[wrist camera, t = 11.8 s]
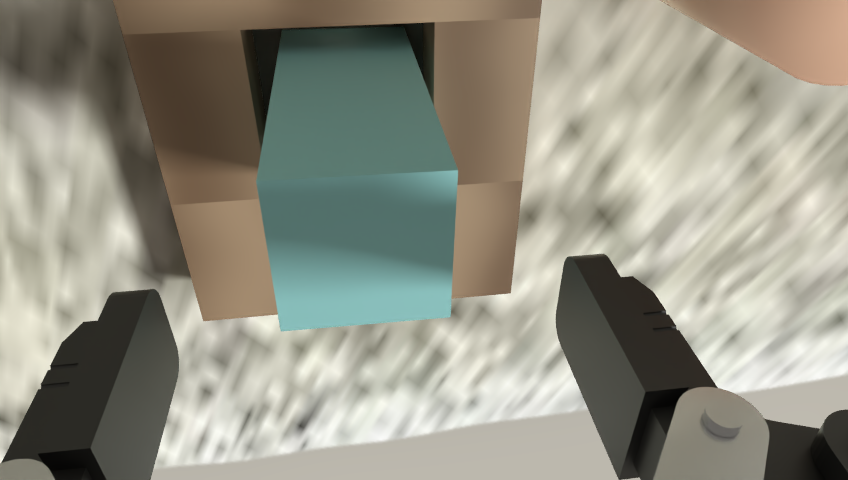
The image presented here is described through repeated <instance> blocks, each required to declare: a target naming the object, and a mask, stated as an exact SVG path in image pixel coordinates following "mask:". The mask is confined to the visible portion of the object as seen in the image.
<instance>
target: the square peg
mask: <svg viewBox="0 0 848 480" xmlns="http://www.w3.org/2000/svg"><path fill="white" fill-rule="evenodd" d="M457 183H458V168H457V166H456V163H455V161H454V158H453V155H452V153H451V150H450V147H449V145H448V142H447V139H446V137H445V134H444V132H443V129H442V126H441V124H440V121H439V118H438V116H437V113H436V110H435V108H434V105H433V103H432V100H431V97H430V95H429V92H428V89H427V87H426V84H425V81H424V79H423V76H422V74H421V71H420V68H419V66H418V63H417V60H416V58H415V55H414V52H413V50H412V47H411V45H410V42H409V39H408V37H407V34H406V31H405V29H404V27H373V28H333V29H294V30H282V33H281V39H280V45H279V51H278V56H277V62H276V68H275V74H274V80H273V86H272V91H271V97H270V103H269V109H268V115H267V120H266V126H265V132H264V138H263V144H262V150H261V155H260V161H259V167H258V173H257V179H256V184H257V190H258V196H259V202H260V208H261V214H262V220H263V226H264V232H265V238H266V245H267V251H268V257H269V263H270V269H271V275H272V281H273V287H274V293H275V299H276V305H277V311H278V317H279V323H280V329H281V331H291V330H303V329H315V328H327V327H339V326H351V325H363V324H374V323H386V322H398V321H410V320H422V319H434V318H446V317H450V314H451V296H452V277H453V258H454V239H455V220H456V202H457Z"/></svg>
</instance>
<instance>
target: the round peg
mask: <svg viewBox="0 0 848 480" xmlns="http://www.w3.org/2000/svg"><path fill="white" fill-rule="evenodd" d="M660 1H662V2H664V3H666V4H667V5H669V6H671V7H673V8H674V9H676V10H678V11H680V12H681V13H683V14H685V15H687V16H688V17H690V18H692V19H694V20H695V21H697V22H699V23H701V24H702V25H704V26H706V27H708V28H709V29H711V30H713V31H715V32H716V33H718V34H720V35H722V36H723V37H725V38H727V39H729V40H730V41H732V42H734V43H736V44H737V45H739V46H741V47H743V48H744V49H746V50H748V51H750V52H751V53H753V54H755V55H757V56H758V57H760V58H762V59H764V60H765V61H767V62H769V63H771V64H772V65H774V66H776V67H778V68H779V69H781V70H783V71H785V72H786V73H788V74H790V75H792V76H794V77H795V78H798V79H801V80H803V81H806V82H809V83H814V84H820V85H840V86H842V85H848V0H660Z"/></svg>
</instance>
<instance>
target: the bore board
mask: <svg viewBox="0 0 848 480" xmlns="http://www.w3.org/2000/svg"><path fill="white" fill-rule="evenodd" d="M113 3H114V6H115V10H116V14H117V17H118V21H119V24H120V28H121V31H122V35H123V38H124V42H125V45H126V49H127V52H128V56H129V60H130V63H131V67H132V70H133V74H134V77H135V81H136V84H137V88H138V91H139V95H140V98H141V102H142V106H143V109H144V113H145V116H146V120H147V123H148V127H149V130H150V134H151V137H152V141H153V144H154V148H155V152H156V155H157V159H158V162H159V166H160V169H161V173H162V176H163V180H164V183H165V187H166V190H167V194H168V198H169V201H170V205H171V208H172V212H173V215H174V219H175V222H176V226H177V229H178V233H179V236H180V240H181V243H182V247H183V251H184V254H185V258H186V261H187V265H188V268H189V272H190V275H191V279H192V282H193V286H194V289H195V293H196V297H197V300H198V304H199V307H200V311H201V314H202V318H203V321H210V320H221V319H232V318H243V317H254V316H265V315H276V314H278V311H277V305H276V299H275V293H274V287H273V281H272V275H271V269H270V263H269V257H268V251H267V245H266V238H265V232H264V226H263V220H262V214H261V208H260V202H259V196H258V190H257V184H256V179H257V173H258V167H259V161H260V155H261V150H262V144H263V138H264V132H265V126H266V120H267V119H266V113H265V107H264V100H263V94H262V88H261V82H260V75H259V69H258V63H257V57H256V50H255V44H254V38H253V32H252V29H276V28H301V27H326V26H351V25H376V24H401V23H423V79H424V81H425V84H426V87H427V89H428V92H429V95H430V97H431V100H432V103H433V105H434V108H435V110H436V113H437V116H438V118H439V121H440V124H441V126H442V129H443V132H444V134H445V137H446V139H447V142H448V145H449V147H450V150H451V153H452V155H453V158H454V161H455V163H456V166H457V168H458V183H457V202H456V220H455V239H454V258H453V277H452V296H451V299H452V298H463V297H474V296H485V295H496V294H507V293H511V285H512V275H513V266H514V257H515V247H516V238H517V229H518V219H519V210H520V200H521V191H522V182H523V172H524V163H525V154H526V144H527V135H528V125H529V116H530V107H531V97H532V88H533V79H534V69H535V60H536V50H537V41H538V32H539V22H540V13H541V4H542V0H113Z"/></svg>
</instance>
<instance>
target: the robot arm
mask: <svg viewBox="0 0 848 480" xmlns="http://www.w3.org/2000/svg"><path fill="white" fill-rule="evenodd" d="M556 328H557V334H558V339H559V342H560V344H561V347H562V349H563V351H564V354H565V356H566V358H567V361H568V363H569V365H570V368H571V370H572V372H573V375H574V377H575V379H576V382H577V384H578V386H579V389H580V391H581V393H582V396H583V398H584V400H585V402H586V405H587V407H588V409H589V412H590V414H591V416H592V419H593V421H594V423H595V425H596V428H597V430H598V433H599V435H600V437H601V439H602V442H603V444H604V446H605V449H606V451H607V454H608V456H609V458H610V460H611V463H612V465H613V467H614V470H615V472H616V474H617V477H618V479H619V480H621V479H630V478H638V477H640V479H641V480H848V410H840V411H837V412H834V413H832V414H831V415H829V416H828V417H827V418H826V419H825V421H824V423H823V425H822V426H821V428H820V429H818V428H811V427H806V426H800V425H794V424H788V423H782V422H776V421H771V420H766V419H764V418H763V416H762V415H761V413H760V412H759V411H758V410H757V409H756V408H755V407H754V406H753V405H752V404H750V403H749V402H748V401H746V400H745V399H743V398H742V397H740V396H738V395H736V394H734V393H732V392H729V391H726V390H723V389H719V388H718V387H717V386H716V385H715V383H714V382H713V380H712V379H711V377H710V376H709V374H708V373H707V371H706V370H705V368H704V367H703V365H702V364H701V362H700V361H699V359H698V358H697V356H696V355H695V353H694V352H693V350H692V349H691V347H690V346H689V344H688V343H687V341H686V340H685V338H684V337H683V335H682V334H681V332H680V331H679V330H677V329H676V325H675V324H674V322H673V321H672V319H671V318H670V316H669V315H666V310H665V309H664V307H663V306H662V304H661V303H660V301H659V300H658V298H657V297H656V295H655V294H654V292H653V291H651V290H650V289H649V288H647V287H646V286H645V285H643V284H642V283H641V282H639V281H638V280H637V279H635V278H634V277H633V276H631V277H620V275H619V274H618V272H617V270H616V269H615V267H614V266H613V264H612V262H611V261H610V259H609V258H608V256H606V255H605V254H595V255H583V256H571V257H567V258H566V260H565V262H564V267H563V273H562V279H561V285H560V292H559V298H558V304H557V310H556ZM50 366H51V370H48V371H47V373H46V375H45V377H44V379H43V381H42V383H41V389H38V391H37V393H36V395H35V397H34V399H33V401H32V403H31V405H30V407H29V409H28V411H27V413H26V415H25V417H24V419H23V421H22V423H21V425H20V427H19V429H18V431H17V433H16V435H15V437H14V439H13V441H12V443H11V445H10V447H9V449H8V451H7V453H6V455H5V457H4V459H3V461H2V462H1V463H0V480H150V479H151V475H152V472H153V468H154V464H155V460H156V457H157V453H158V449H159V446H160V442H161V438H162V434H163V431H164V427H165V423H166V419H167V416H168V412H169V408H170V405H171V401H172V397H173V393H174V390H175V386H176V382H177V378H178V371H179V357H178V350H177V346H176V342H175V339H174V336H173V333H172V330H171V327H170V324H169V321H168V318H167V315H166V312H165V309H164V306H163V303H162V300H161V298H160V295H159V293H158V292H157V291H156V290H155V289H150V290H138V291H125V292H114V293H112V294H111V295H110V296H109V297H108V299H107V302H106V304H105V306H104V308H103V310H102V313H101V315H100V317H99V319H98V321H90V322H83V323H82V324H81V325H80V326H79V327H78V328H77V329H76V330H75V331H74V332H73V333H72V334H71V335H70V336H69V337H67V338H66V339H65V340H64V341H63V342H62V344H61V346H60V348H59V350H58V352H57V354H56V356H55V358H54V359H53V361H52V363H51V365H50Z"/></svg>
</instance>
